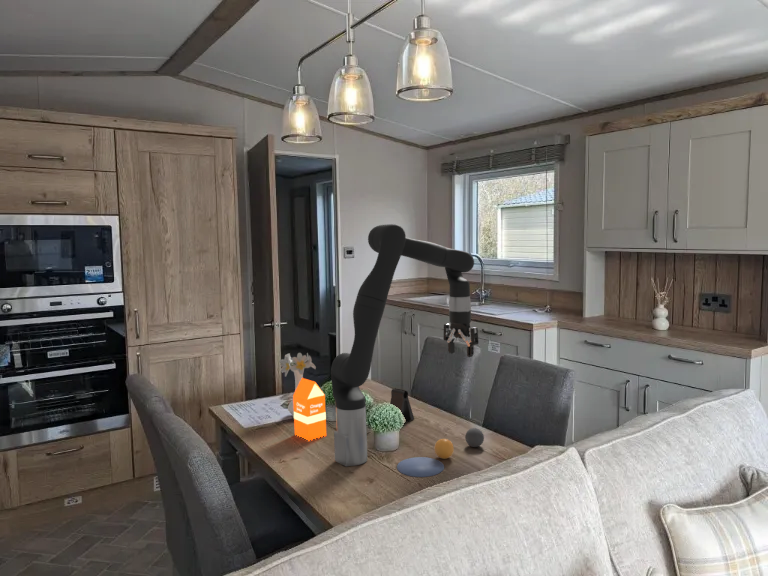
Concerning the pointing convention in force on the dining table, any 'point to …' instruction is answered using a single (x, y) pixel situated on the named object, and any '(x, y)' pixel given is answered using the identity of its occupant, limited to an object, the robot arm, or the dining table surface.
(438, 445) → the orange ball
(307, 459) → the dining table surface
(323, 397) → the orange juice
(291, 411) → the flower vase
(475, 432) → the gray ball
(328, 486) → the dining table surface
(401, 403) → the door stopper
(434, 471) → the blue plate
